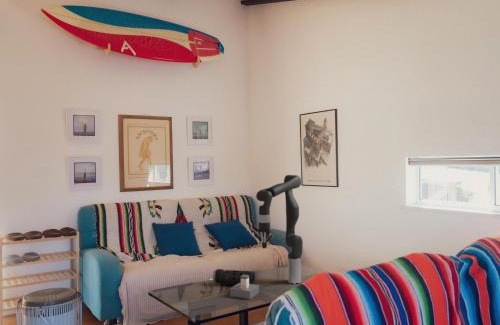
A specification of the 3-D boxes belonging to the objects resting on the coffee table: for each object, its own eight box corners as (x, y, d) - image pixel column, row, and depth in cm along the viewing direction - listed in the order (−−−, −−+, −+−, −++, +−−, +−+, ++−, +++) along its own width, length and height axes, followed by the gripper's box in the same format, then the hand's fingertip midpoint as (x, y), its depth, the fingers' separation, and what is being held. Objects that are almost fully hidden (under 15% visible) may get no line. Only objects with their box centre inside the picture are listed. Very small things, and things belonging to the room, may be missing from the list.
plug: (243, 291, 281) (243, 274, 281) (249, 292, 279) (249, 275, 279) (240, 293, 277) (240, 276, 277) (246, 294, 276) (246, 276, 275)
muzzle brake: (252, 288, 292) (252, 272, 292) (212, 285, 298) (212, 270, 298) (255, 284, 301) (255, 269, 301) (216, 282, 307) (216, 267, 307)
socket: (239, 290, 288) (239, 281, 288) (259, 292, 282) (259, 283, 282) (229, 296, 275) (229, 287, 275) (249, 299, 269) (249, 289, 269)
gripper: (275, 221, 282) (276, 247, 282) (257, 220, 288) (257, 246, 288) (271, 222, 275) (271, 250, 276) (252, 221, 281) (252, 248, 281)
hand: (264, 248), depth 282 cm, fingers closed
